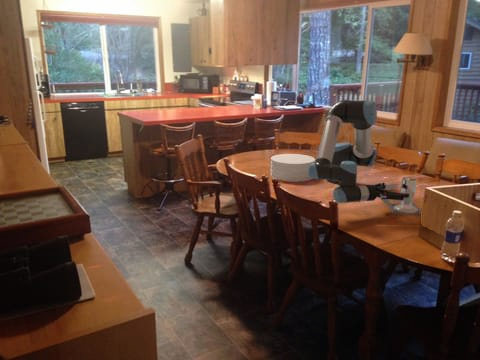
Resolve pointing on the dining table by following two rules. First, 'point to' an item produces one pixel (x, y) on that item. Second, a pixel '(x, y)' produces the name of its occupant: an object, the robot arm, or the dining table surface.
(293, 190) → the dining table surface
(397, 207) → the round coaster
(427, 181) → the dining table surface
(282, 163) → the plate stack
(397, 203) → the square tile
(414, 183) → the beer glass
